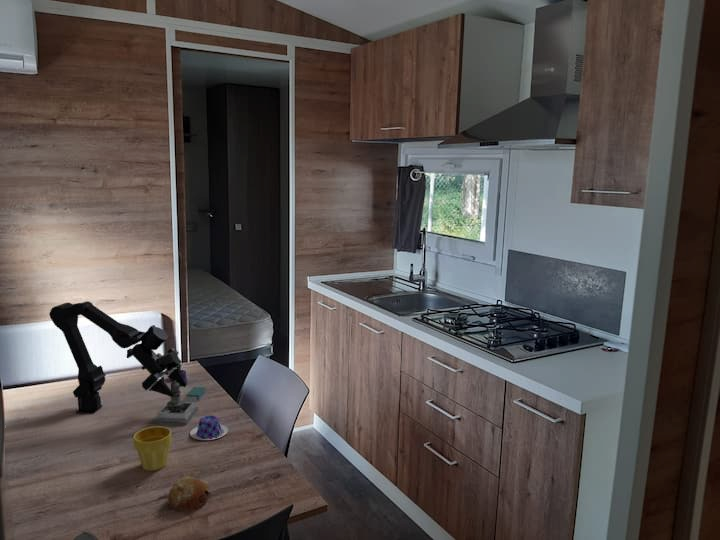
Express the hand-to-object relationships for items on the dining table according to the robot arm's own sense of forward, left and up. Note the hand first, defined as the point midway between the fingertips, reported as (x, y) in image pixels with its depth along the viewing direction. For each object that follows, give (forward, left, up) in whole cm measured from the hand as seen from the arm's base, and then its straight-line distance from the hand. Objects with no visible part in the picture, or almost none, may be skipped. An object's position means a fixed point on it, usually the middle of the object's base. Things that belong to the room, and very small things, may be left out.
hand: (179, 391), depth 200 cm
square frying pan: (-1, +9, -10) cm, 13 cm away
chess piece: (-2, 0, -8) cm, 8 cm away
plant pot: (+5, -33, -10) cm, 35 cm away
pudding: (+14, -11, -10) cm, 20 cm away
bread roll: (+21, -50, -10) cm, 55 cm away
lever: (-13, +34, -10) cm, 38 cm away
